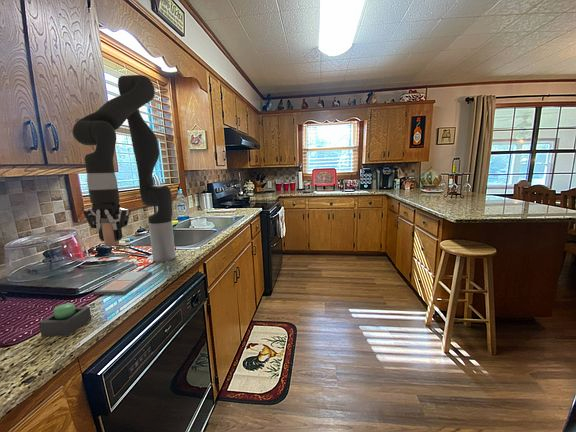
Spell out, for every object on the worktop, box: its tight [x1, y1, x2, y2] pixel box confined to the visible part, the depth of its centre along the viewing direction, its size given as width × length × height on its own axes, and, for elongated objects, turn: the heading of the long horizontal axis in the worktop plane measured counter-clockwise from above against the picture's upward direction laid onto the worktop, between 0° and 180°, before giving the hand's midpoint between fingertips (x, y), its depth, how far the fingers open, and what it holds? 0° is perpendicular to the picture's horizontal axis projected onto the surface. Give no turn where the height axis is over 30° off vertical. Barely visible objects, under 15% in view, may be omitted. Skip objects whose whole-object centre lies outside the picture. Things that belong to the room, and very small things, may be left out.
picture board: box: [93, 270, 153, 295], centre depth 87 cm, size 16×10×1 cm, turn 0°
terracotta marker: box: [100, 218, 120, 247], centre depth 80 cm, size 4×4×9 cm
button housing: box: [38, 306, 92, 337], centre depth 63 cm, size 7×7×4 cm
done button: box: [52, 302, 76, 319], centre depth 62 cm, size 4×4×2 cm
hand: (111, 240), depth 81 cm, fingers closed on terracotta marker, 4 cm apart
